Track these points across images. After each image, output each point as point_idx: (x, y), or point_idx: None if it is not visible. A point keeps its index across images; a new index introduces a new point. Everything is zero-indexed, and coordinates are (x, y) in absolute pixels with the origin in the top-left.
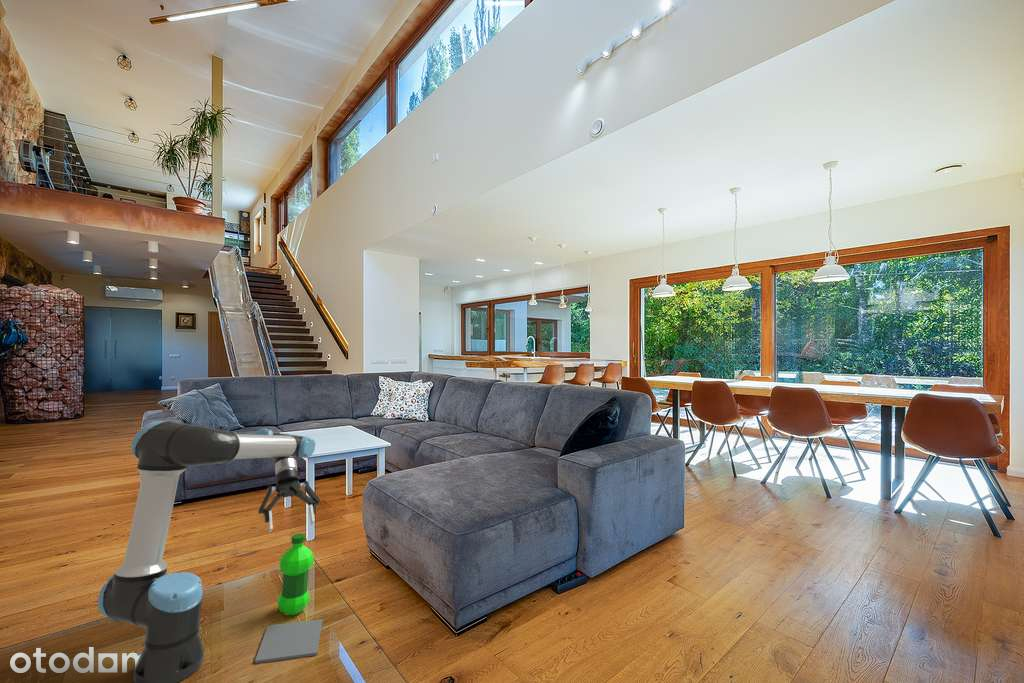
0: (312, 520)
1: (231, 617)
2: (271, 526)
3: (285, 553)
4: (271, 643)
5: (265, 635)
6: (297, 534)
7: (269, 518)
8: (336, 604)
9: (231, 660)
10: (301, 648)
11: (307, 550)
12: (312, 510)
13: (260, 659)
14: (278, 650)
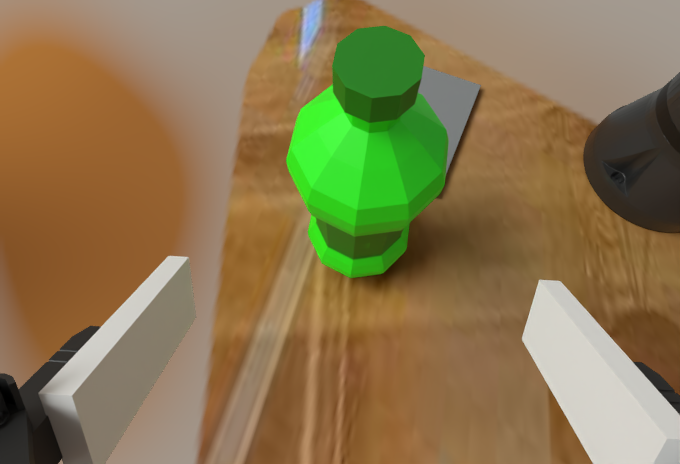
0: (184, 261)
1: (525, 311)
2: (560, 291)
3: (431, 141)
4: (440, 120)
5: (448, 157)
6: (379, 83)
7: (623, 363)
8: (239, 203)
9: (523, 125)
10: None
11: (325, 98)
12: (112, 324)
13: (469, 83)
14: (430, 90)
